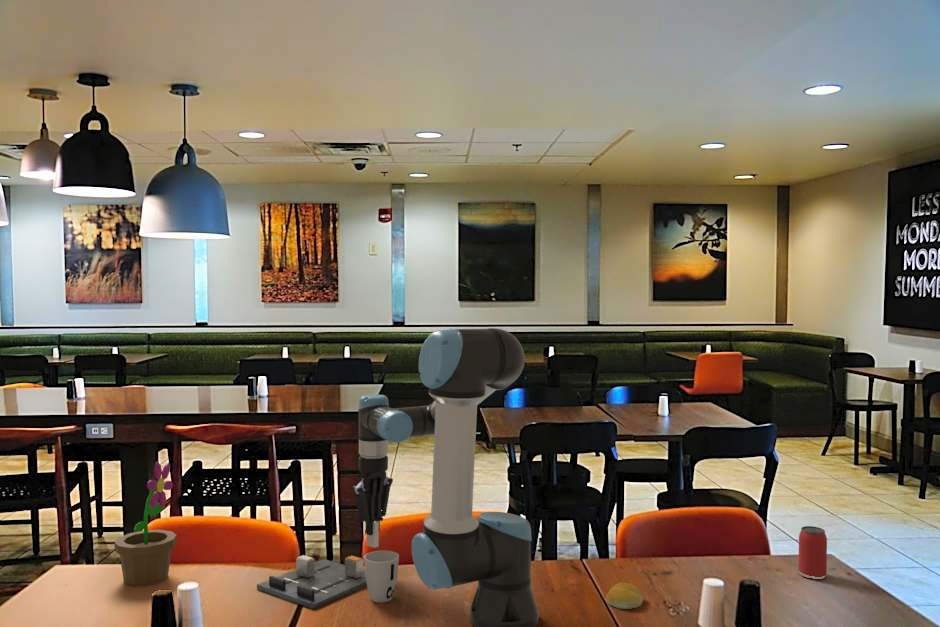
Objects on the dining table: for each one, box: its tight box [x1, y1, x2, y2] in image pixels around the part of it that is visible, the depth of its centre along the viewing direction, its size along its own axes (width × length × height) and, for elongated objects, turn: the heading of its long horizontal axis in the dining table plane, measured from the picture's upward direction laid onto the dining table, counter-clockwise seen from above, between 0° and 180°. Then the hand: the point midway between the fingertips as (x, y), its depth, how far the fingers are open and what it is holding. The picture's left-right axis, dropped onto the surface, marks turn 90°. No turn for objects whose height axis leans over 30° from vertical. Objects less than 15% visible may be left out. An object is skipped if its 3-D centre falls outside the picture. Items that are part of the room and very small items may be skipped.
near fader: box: [344, 555, 364, 578], centre depth 190 cm, size 4×2×4 cm, turn 54°
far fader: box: [295, 554, 315, 578], centre depth 190 cm, size 4×2×4 cm, turn 54°
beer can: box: [798, 525, 828, 577], centre depth 195 cm, size 7×7×12 cm
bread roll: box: [605, 582, 644, 610], centre depth 178 cm, size 8×9×4 cm
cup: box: [363, 550, 400, 603], centre depth 179 cm, size 8×8×10 cm
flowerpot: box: [113, 461, 178, 587], centre depth 191 cm, size 14×14×30 cm
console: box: [256, 558, 367, 610], centre depth 188 cm, size 20×22×3 cm
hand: (372, 545), depth 196 cm, fingers closed
